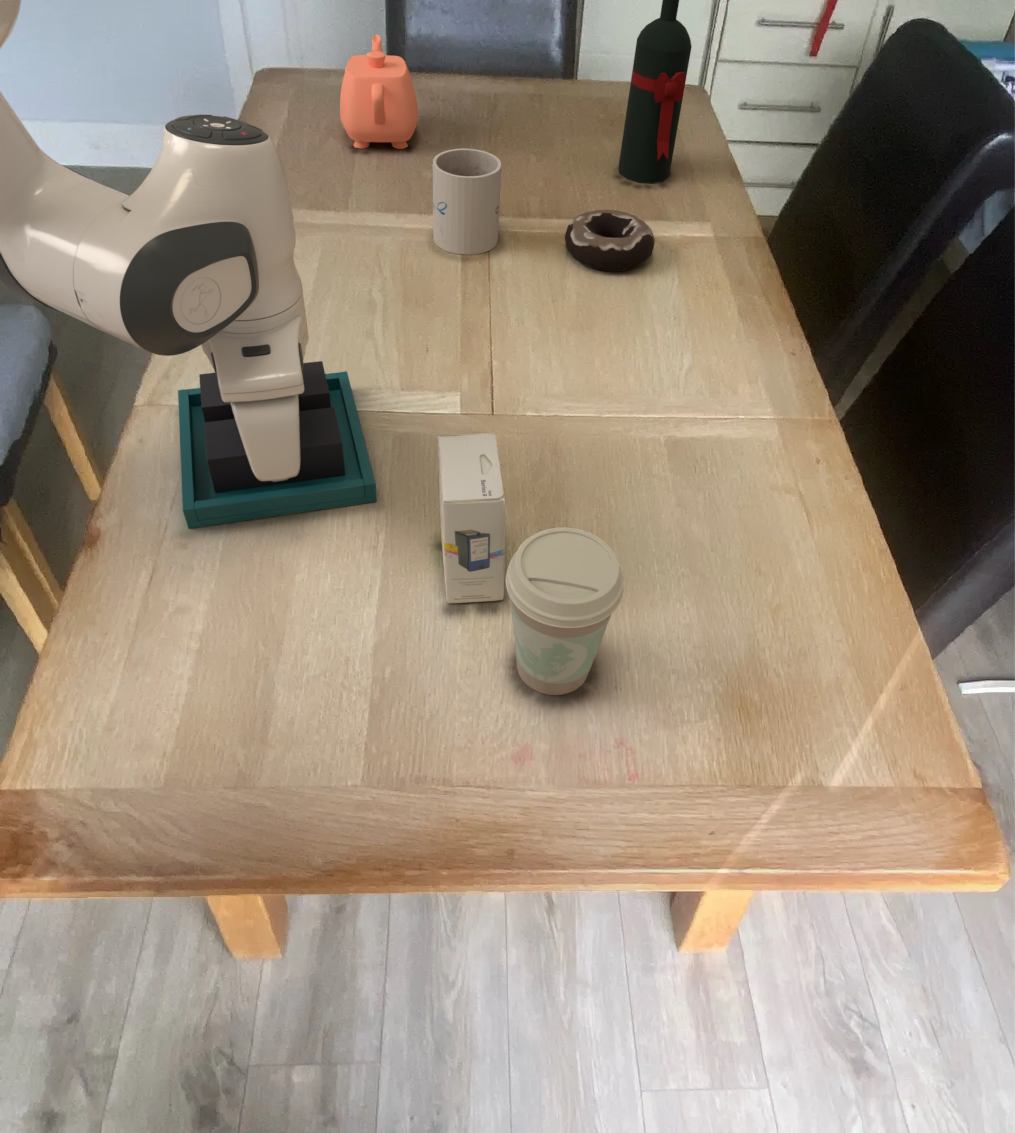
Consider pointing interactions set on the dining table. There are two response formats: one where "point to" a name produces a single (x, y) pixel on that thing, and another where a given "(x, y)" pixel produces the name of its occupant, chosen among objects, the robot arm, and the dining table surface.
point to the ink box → (471, 517)
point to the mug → (466, 201)
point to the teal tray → (280, 498)
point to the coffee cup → (561, 605)
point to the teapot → (378, 99)
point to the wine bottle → (655, 98)
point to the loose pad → (316, 452)
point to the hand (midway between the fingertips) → (275, 452)
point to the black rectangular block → (308, 400)
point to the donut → (609, 240)
